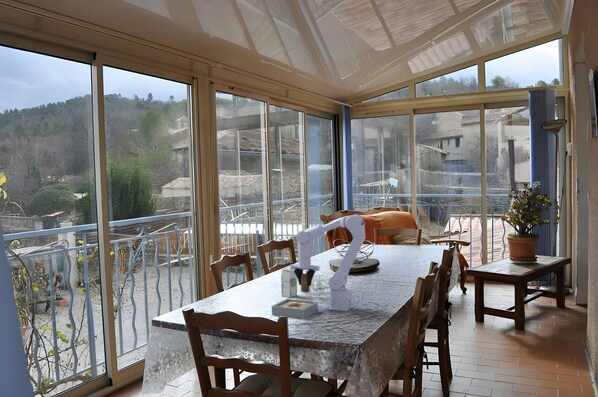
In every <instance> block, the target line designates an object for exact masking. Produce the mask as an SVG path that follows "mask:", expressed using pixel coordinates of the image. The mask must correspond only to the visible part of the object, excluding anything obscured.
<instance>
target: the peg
mask: <svg viewBox="0 0 598 397" xmlns="http://www.w3.org/2000/svg"><path fill="white" fill-rule="evenodd" d="M310 290H311V289H310V286H308V279H307V273H303V274H301V285H300V292H301V293H308V292H310Z"/></svg>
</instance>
